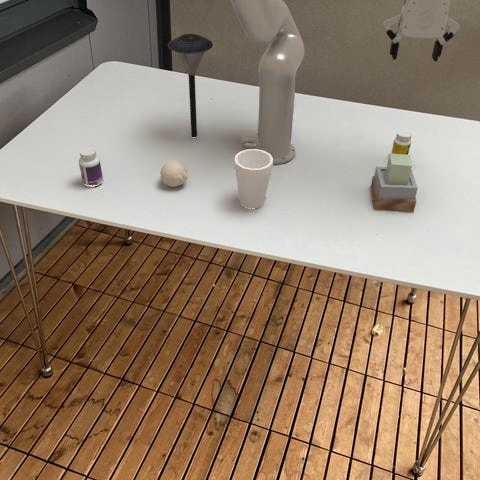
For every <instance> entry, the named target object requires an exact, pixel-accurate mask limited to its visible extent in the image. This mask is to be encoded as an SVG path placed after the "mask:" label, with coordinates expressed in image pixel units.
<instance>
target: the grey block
mask: <svg viewBox="0 0 480 480" xmlns="http://www.w3.org/2000/svg"><path fill="white" fill-rule="evenodd" d="M386 169H387V166H376V167H375V169H374V175H373V176H374V180H375V184H376V188H377V192H378V196H379V198H392V199H415V197H416V196H417V192H418V188H419V187H418V183H417V182H416V179H415V176H414V172H413V170H412V169H411V173H410V177H409V181H408V185H388V184H387V181H386Z"/></svg>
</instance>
